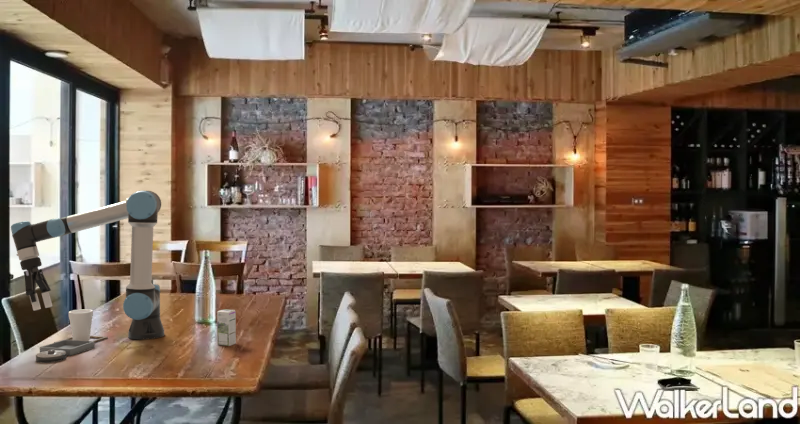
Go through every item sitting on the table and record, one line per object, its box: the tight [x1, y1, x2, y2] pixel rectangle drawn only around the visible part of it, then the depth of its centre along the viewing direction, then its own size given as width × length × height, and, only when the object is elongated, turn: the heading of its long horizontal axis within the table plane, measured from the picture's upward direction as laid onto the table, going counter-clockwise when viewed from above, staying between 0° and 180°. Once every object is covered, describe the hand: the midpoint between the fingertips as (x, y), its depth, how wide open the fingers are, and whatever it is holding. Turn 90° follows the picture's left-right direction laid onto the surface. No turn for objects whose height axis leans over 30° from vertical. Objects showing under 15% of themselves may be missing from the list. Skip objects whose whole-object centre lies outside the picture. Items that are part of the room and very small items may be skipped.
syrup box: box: [216, 308, 237, 347], centre depth 296 cm, size 6×6×14 cm
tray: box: [39, 339, 95, 357], centre depth 284 cm, size 14×14×3 cm
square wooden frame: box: [53, 335, 109, 344], centre depth 301 cm, size 15×15×1 cm
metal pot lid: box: [35, 349, 67, 364], centre depth 270 cm, size 11×11×4 cm
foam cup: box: [68, 308, 94, 341], centre depth 301 cm, size 10×9×13 cm
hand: (43, 308), depth 289 cm, fingers open, 13 cm apart
